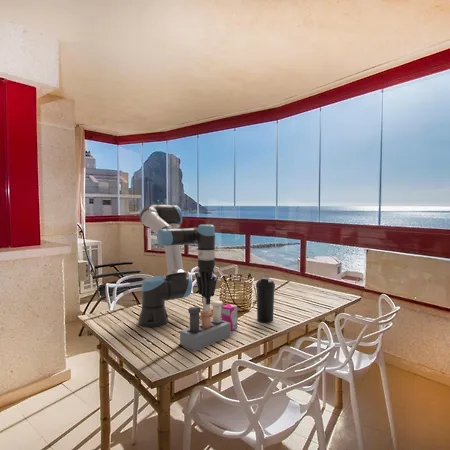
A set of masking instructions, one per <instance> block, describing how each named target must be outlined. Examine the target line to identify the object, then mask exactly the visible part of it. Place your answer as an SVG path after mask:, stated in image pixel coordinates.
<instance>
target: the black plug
mask: <svg viewBox="0 0 450 450" xmlns="http://www.w3.org/2000/svg"><path fill="white" fill-rule="evenodd" d="M201 311H202V310H201V307H198V306H193V307H189V308H188V312H187V313H189V327H190V331H192V332H197V331H199V324H200V312H201Z"/></svg>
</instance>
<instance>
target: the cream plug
mask: <svg viewBox="0 0 450 450" xmlns="http://www.w3.org/2000/svg"><path fill="white" fill-rule="evenodd" d="M211 306H212V319H213V322H214V323H220V322H221V320H222V306H224V305H223V301H222V300H212V301H211Z"/></svg>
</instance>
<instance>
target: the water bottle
mask: <svg viewBox="0 0 450 450" xmlns="http://www.w3.org/2000/svg"><path fill="white" fill-rule="evenodd" d="M255 288H256V317H257V318H256V319H257V321H258V322H259V323H262V324H268V323H269V324H271V323H272V321H273V322H274V311H275V309H274V304H275V288H276V284H275V282H274V280H272V279H271V276H265V275H263V276H261V279H258V280H257V281H256V282H255Z"/></svg>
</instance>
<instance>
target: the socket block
mask: <svg viewBox="0 0 450 450" xmlns="http://www.w3.org/2000/svg"><path fill="white" fill-rule="evenodd" d="M231 332H232V331H231V323H229V322H226V321H224V320H222V319H221V322H220V323H214V322H213V318H211V328H209V329H206V330H205V329H203V328H202V322H199V331H197V332H192V331H190V326H189V327H185V328H183V329H181V330H179V345H182V346H183V347H185V348H188V349H189V350H191V351H194V352H198V351H199V350H202V349H204V348H206V347H208V346H211V345H213V344H215V343H217V342H219V341H222V340H224V339H226V338H228V337H230V336H232V335H231Z"/></svg>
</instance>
